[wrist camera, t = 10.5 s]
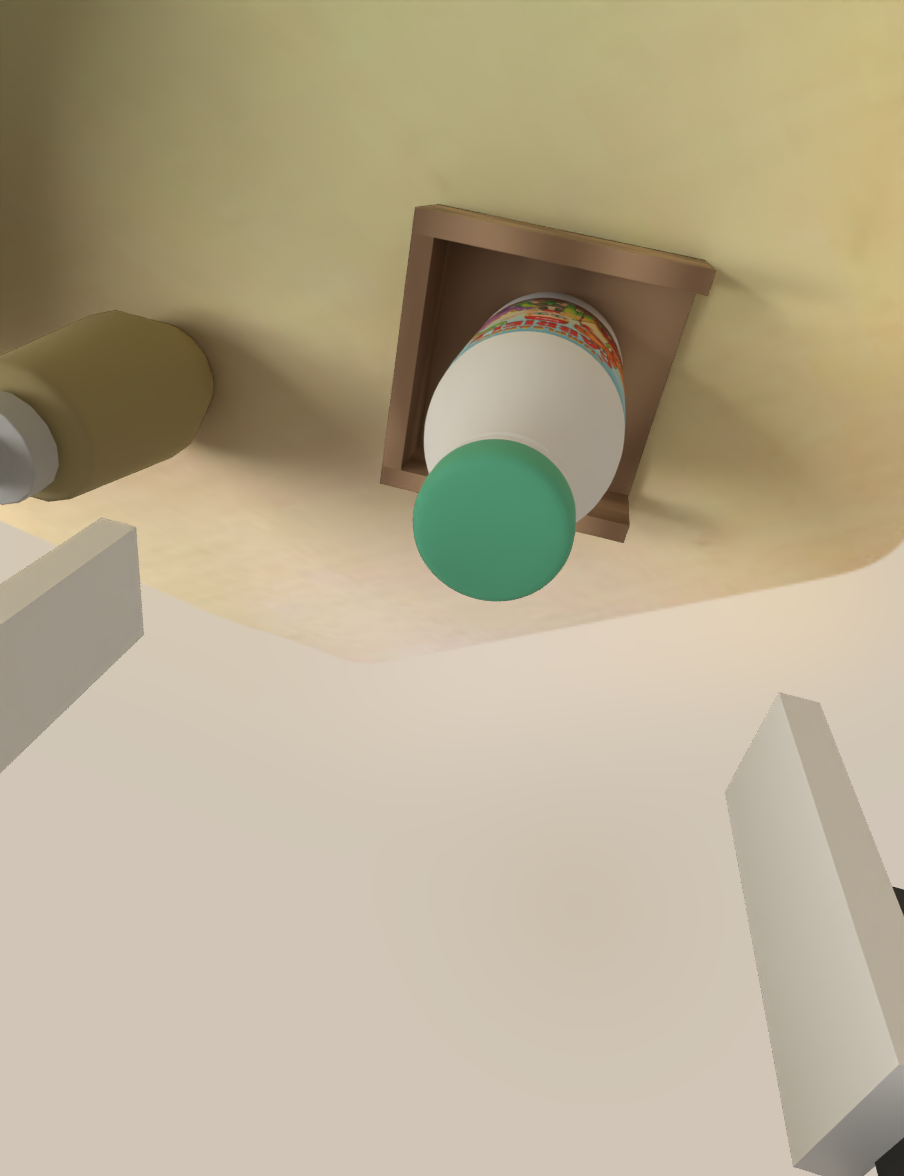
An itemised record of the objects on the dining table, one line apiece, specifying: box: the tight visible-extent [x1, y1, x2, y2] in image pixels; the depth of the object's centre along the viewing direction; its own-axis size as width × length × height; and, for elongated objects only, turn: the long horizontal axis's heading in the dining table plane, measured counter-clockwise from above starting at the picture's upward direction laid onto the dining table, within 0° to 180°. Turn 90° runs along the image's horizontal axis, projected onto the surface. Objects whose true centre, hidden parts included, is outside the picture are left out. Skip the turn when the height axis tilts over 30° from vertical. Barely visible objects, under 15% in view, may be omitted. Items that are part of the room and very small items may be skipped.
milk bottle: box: [413, 292, 625, 601], centre depth 28 cm, size 8×8×20 cm
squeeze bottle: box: [0, 310, 213, 505], centre depth 34 cm, size 8×8×18 cm
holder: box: [380, 204, 716, 543], centre depth 35 cm, size 13×13×5 cm
